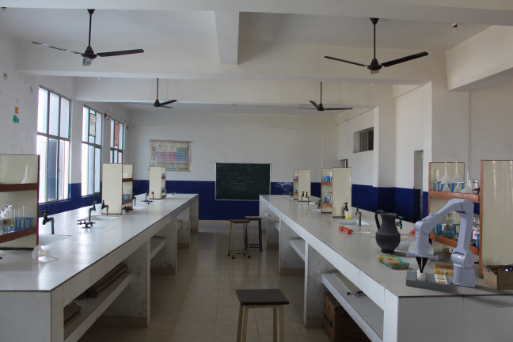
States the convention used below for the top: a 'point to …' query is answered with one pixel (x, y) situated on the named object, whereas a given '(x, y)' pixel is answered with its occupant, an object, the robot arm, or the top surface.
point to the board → (429, 281)
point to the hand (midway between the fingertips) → (421, 272)
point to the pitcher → (387, 232)
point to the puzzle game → (393, 261)
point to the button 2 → (421, 277)
